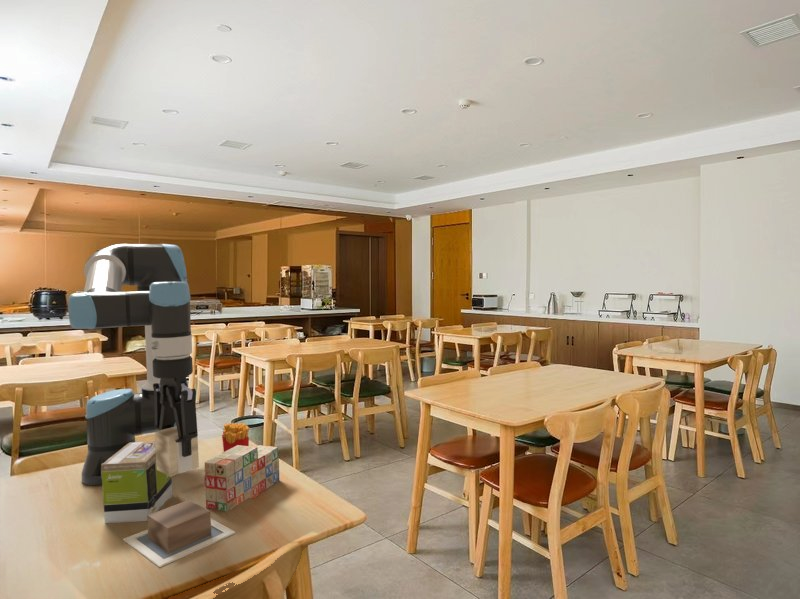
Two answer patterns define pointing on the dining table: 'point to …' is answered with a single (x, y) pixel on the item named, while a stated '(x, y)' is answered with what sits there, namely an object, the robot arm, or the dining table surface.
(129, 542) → the board
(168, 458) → the beech brick
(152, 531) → the walnut base block
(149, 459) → the tea box
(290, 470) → the dining table surface
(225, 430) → the french fries
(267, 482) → the stack of blocks
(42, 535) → the dining table surface
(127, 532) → the dining table surface
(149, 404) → the robot arm
